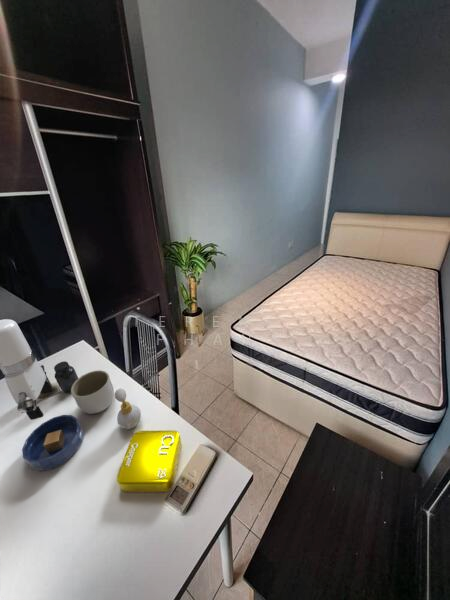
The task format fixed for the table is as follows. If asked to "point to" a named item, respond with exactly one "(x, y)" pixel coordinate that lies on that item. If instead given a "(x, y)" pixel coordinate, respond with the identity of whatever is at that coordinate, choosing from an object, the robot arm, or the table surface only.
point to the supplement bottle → (65, 376)
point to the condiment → (55, 388)
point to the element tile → (150, 462)
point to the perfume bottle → (127, 411)
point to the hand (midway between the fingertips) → (42, 404)
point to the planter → (93, 392)
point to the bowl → (44, 461)
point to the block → (54, 441)
